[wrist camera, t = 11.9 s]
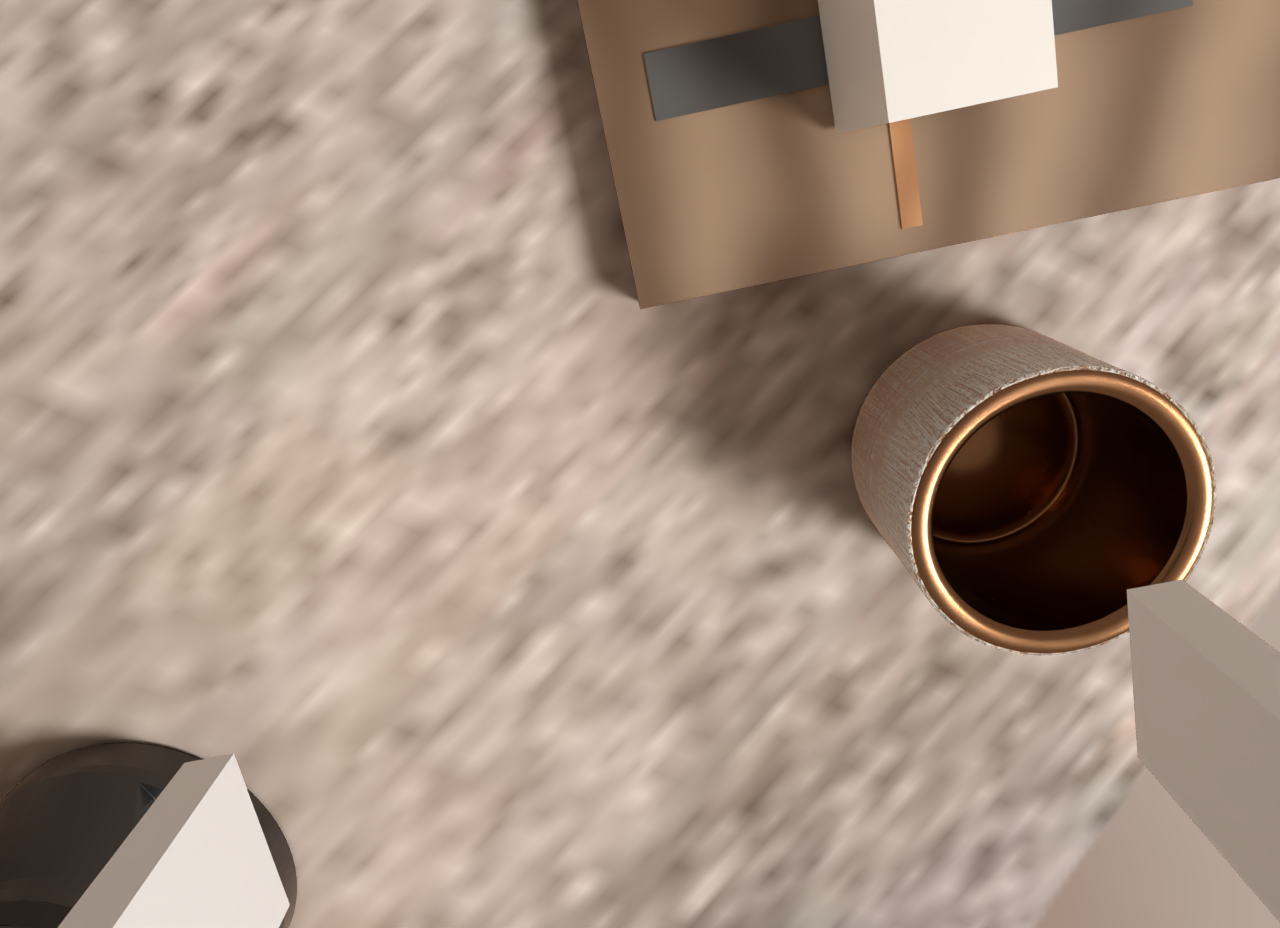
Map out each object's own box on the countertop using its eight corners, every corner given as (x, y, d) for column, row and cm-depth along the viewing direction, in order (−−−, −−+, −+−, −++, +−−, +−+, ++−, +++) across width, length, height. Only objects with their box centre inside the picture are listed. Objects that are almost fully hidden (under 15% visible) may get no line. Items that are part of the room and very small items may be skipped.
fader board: (640, 302, 41) (640, 309, 39) (554, -120, 36) (549, -139, 34) (1268, 173, 39) (1305, 173, 37) (1259, -283, 35) (1301, -313, 33)
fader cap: (836, 133, 36) (888, 123, 29) (812, -40, 35) (861, -100, 27) (968, 105, 36) (1058, 87, 29) (951, -71, 35) (1040, -141, 27)
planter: (837, 556, 44) (889, 657, 35) (858, 317, 41) (921, 359, 32) (1074, 561, 44) (1189, 663, 35) (1113, 323, 41) (1250, 366, 32)
